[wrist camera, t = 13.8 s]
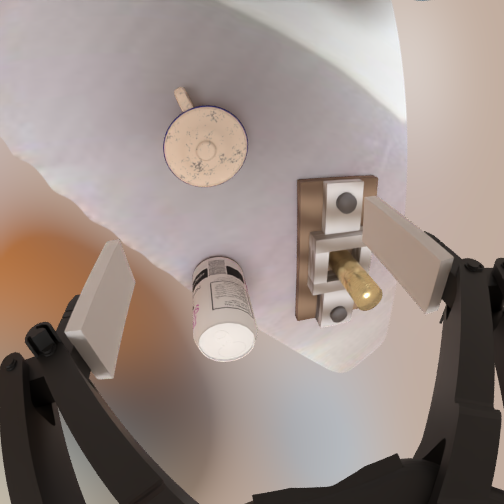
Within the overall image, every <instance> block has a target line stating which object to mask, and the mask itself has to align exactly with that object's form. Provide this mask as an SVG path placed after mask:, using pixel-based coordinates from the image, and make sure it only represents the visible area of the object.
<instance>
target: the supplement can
mask: <svg viewBox="0 0 504 504" xmlns="http://www.w3.org/2000/svg"><path fill="white" fill-rule="evenodd" d="M257 333H258V329H257V325H256V321H255V317H254V314H253V310H252V306H251V302H250V298H249V295H248V291H247V287H246V283H245V279H244V275H243V272H242V269H241V268H240V266H239V265H238V264H237V263H236V262H234V261H232V260H231V259H229V258H223V257H215V258H209V259H207V260H205V261H203V262H202V263H201V264H199V265H198V266H197V268H196V269H195V271H194V274H193V336H194V341H195V343H196V345H197V347H198V348H199V349H200V351H201V352H202V354H204V355H205V356H206V357H208V358H209V359H212V360H215V361H222V362H228V361H234V360H237V359H240V358H242V357H244V356H245V355H247V354H248V353H249V352H250V351H251V350H252V348H253V347H254V343H255V340H256V338H257Z"/></svg>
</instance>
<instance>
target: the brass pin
mask: <svg viewBox="0 0 504 504" xmlns="http://www.w3.org/2000/svg"><path fill="white" fill-rule="evenodd" d="M328 265H329V266H330V268H331V269H332V270H333V272H334V273H335V275H336V276H337V278H338V279H339V280H340V282H341V283H342V285H343V286H344V288H345V289H346V291H347V292H348V293H349V295H350V296H351V298H352V299H353V301H354V302H355V304H356V305H357V307H358V308H359V309H360V310H363V311H367V310H370V309H372V308H374V307H375V306H376V305H377V304H378V303H379V302H380V300H381V298H382V290H381V289H380V288H379V287H378V285H377V284H376V283H375V282H374V281H373V279H372V278H371V277H370V276H369V275H368V273H367V272H366V271H365V270H364V269H363V267H362V266H361V265H360V264H359V263H358V262H357V260H356V259H355V258H354V257H353V256H352V255H351V253H350V252H349V251H348V250H347V249H346V250H339V251H332V252H329V262H328Z"/></svg>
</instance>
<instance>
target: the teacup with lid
mask: <svg viewBox="0 0 504 504" xmlns="http://www.w3.org/2000/svg"><path fill="white" fill-rule="evenodd" d="M174 94H175V97H176V99H177V102H178V104H179V106H180V108H181V110H182V112H183V113H182V114H180V115H179V116H178V117H177V118H176V119H175V120H174V121H173V122H172V123H171V125H170V126H169V128H168V130H167V132H166V135H165V138H164V144H163V151H164V157H165V160H166V163H167V165H168V167H169V169H170V170H171V171H172V173H173V174H174V175H175V176H176V177H177V178H179V179H180V180H181V181H183V182H185V183H187V184H190V185H193V186H197V187H212V186H216V185H219V184H222V183H224V182H226V181H228V180H229V179H231V178H232V177H233V176H234V175H235V174H236V173H237V172H238V171H239V170H240V168H241V167H242V165H243V163H244V161H245V159H246V156H247V151H248V139H247V135H246V132H245V129H244V127H243V125H242V124H241V122H240V121H239V120H238V119H237V118H236V117H235V116H234V115H233V114H232V113H230V112H229V111H227V110H225V109H223V108H220V107H216V106H198V107H194V106H193V104H192V102H191V100H190V98H189V96H188V94H187V92H186V90H185V89H184V88H183V87H179V88H177V89H176V90H175V91H174Z"/></svg>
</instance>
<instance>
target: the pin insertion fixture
mask: <svg viewBox="0 0 504 504" xmlns="http://www.w3.org/2000/svg"><path fill="white" fill-rule="evenodd" d="M377 185H378V178H377V177H375V176H373V175H372V176H348V177H330V178H314V179H301V180H297V200H298V216H297V282H296V312H295V316H296V319H297V321H300V320H305V319H310V318H316V320H317V322H318V324H319V326H320V328H324V327H328V326H333V325H337V324H342V323H346V322H350V320H351V315H352V310H353V309H358V307H357V305H356V304H355V302H354V301H353V299H352V298H351V296H350V295H349V293H348V292H347V291H346V289H345V288H344V286H343V285H342V283H341V282H340V280H339V279H338V278H337V276H336V275H335V273H334V272H333V270H332V269H331V268H330V266H329V265H328V262H329V252H332V251H339V250H346V249H347V250H348V251H349V252H350V253H351V255H352V256H353V257H354V258H355V259H356V260H357V262H358V263H359V264H360V265H361V266H362V267H363V269H364V270H365V271H366V272H367V273H368V274H369V268H370V262H371V256H372V252H371V250H370V249H369V248H368V247H367V246H366V245H365V244H364V243H363V242H362V233H363V218H364V198H365V197H369V196H377Z"/></svg>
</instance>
